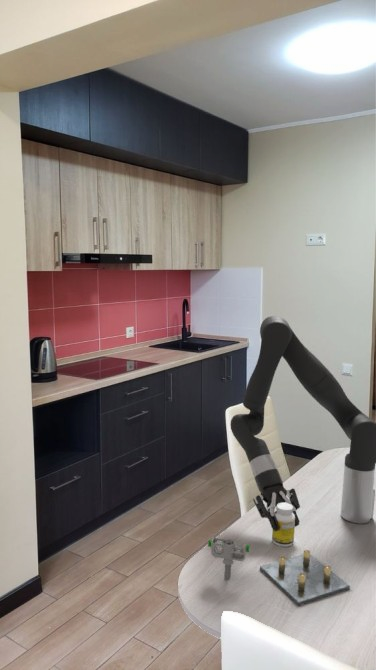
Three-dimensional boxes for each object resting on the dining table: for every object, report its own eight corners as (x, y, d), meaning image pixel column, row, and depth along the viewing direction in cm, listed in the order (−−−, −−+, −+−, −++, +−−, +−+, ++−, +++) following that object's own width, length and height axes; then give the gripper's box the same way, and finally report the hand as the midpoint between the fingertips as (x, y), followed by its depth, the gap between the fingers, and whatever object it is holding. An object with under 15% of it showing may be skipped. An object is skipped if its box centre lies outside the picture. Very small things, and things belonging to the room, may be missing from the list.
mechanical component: (246, 585, 130) (248, 548, 129) (206, 579, 132) (207, 542, 131) (247, 578, 133) (249, 541, 132) (208, 572, 135) (209, 536, 134)
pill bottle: (269, 536, 154) (271, 501, 153) (290, 536, 155) (292, 500, 153) (274, 547, 148) (276, 511, 147) (296, 547, 149) (298, 510, 147)
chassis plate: (308, 556, 144) (309, 541, 144) (349, 589, 130) (351, 572, 130) (259, 569, 137) (260, 553, 137) (298, 606, 123) (299, 588, 123)
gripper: (250, 471, 152) (272, 528, 143) (290, 464, 159) (313, 518, 150) (240, 481, 158) (260, 537, 149) (279, 474, 164) (300, 527, 155)
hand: (287, 527), depth 149 cm, fingers closed on pill bottle, 6 cm apart
